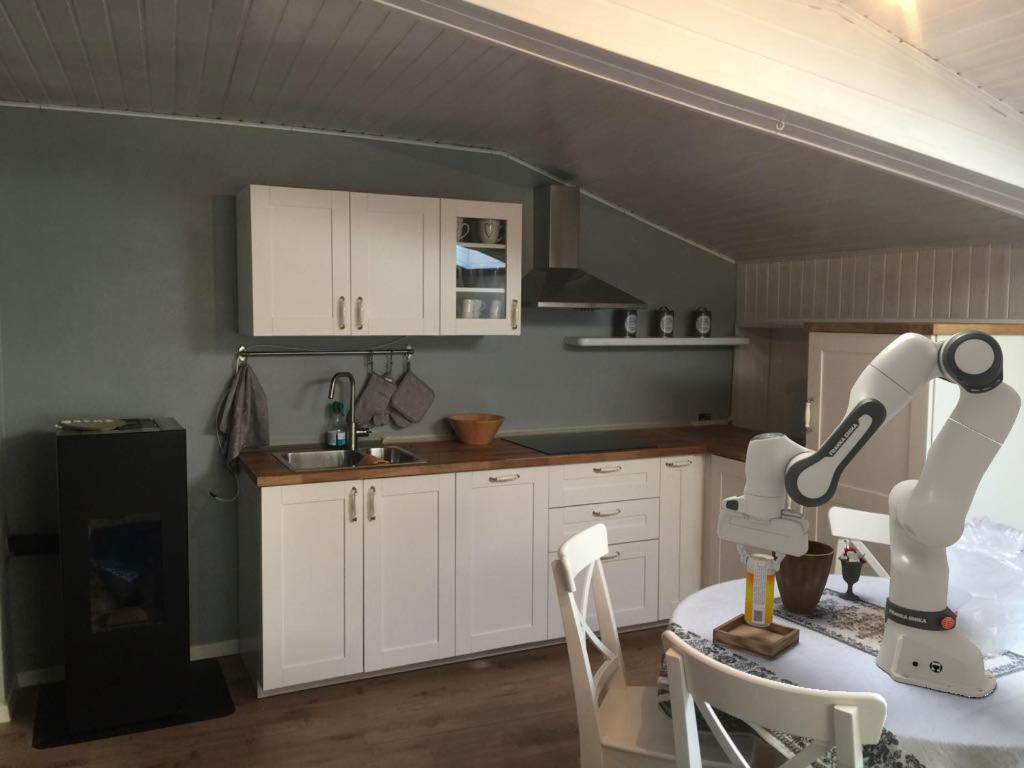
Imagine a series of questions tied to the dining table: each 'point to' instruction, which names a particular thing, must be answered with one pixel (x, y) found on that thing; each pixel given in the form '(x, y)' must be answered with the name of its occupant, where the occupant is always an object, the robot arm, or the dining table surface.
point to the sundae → (851, 570)
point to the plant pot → (804, 577)
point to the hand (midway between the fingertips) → (759, 566)
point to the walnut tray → (756, 637)
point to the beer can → (759, 590)
